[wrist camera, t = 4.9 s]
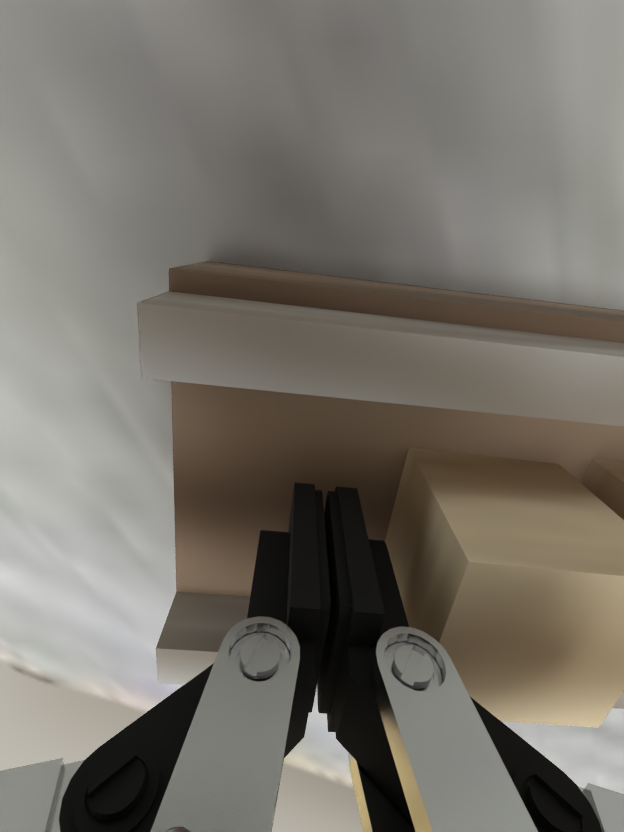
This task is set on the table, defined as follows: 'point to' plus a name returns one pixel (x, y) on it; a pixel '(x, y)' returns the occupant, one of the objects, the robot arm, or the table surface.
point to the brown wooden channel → (349, 408)
